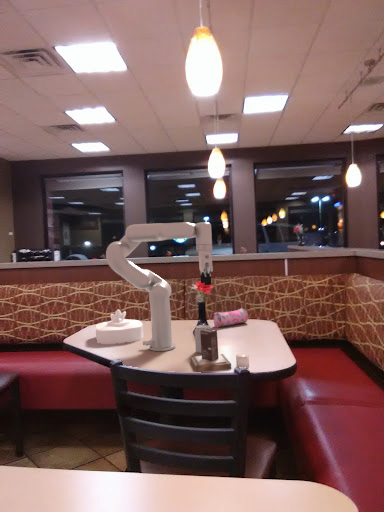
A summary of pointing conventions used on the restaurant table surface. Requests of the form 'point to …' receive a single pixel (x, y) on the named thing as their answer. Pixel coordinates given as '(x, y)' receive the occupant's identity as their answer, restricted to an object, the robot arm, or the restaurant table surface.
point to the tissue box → (119, 330)
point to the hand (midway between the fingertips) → (205, 283)
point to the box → (209, 344)
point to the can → (199, 336)
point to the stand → (210, 363)
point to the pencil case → (230, 318)
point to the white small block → (242, 360)
